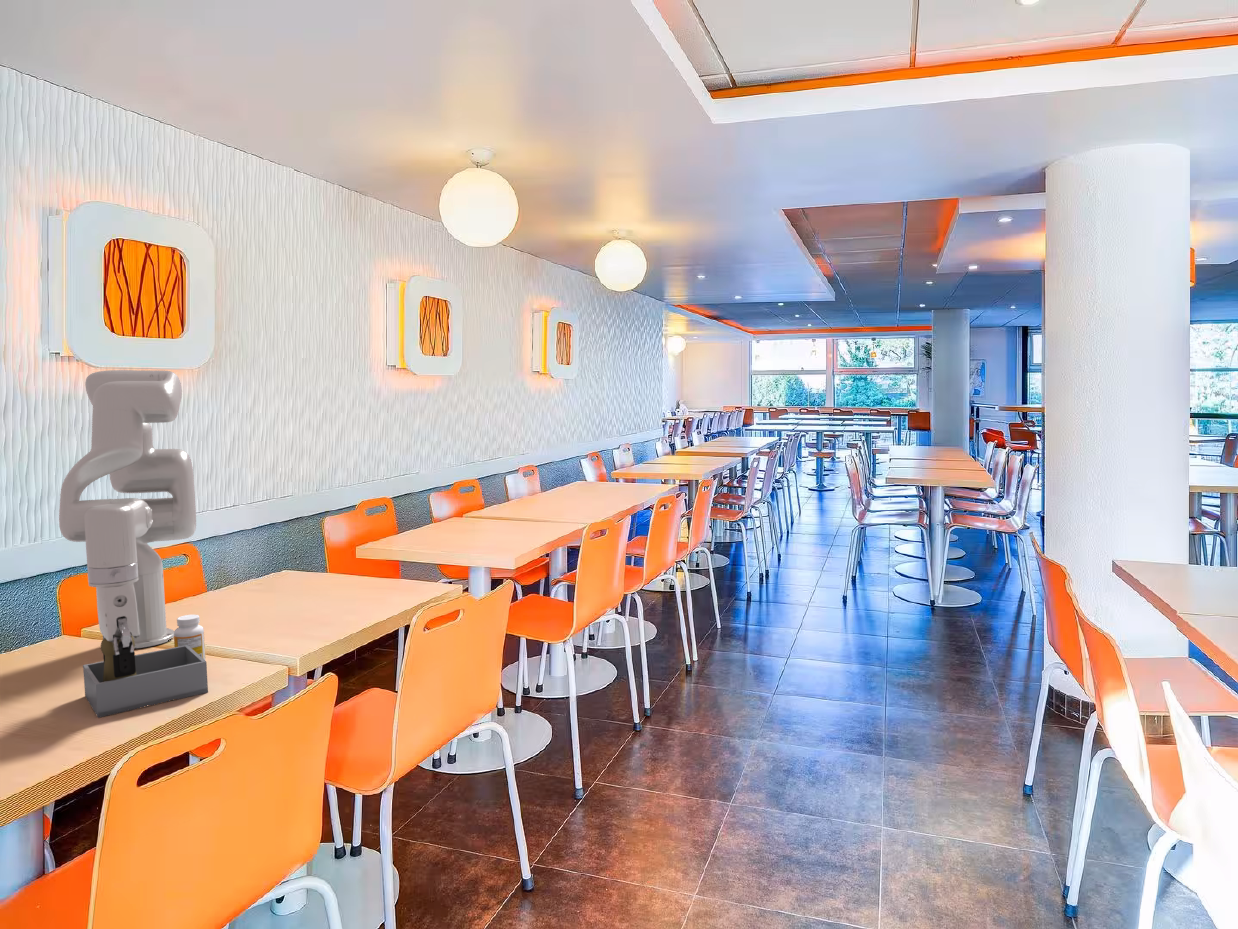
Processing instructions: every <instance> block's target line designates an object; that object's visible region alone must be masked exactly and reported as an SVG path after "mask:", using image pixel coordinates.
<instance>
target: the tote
mask: <svg viewBox="0 0 1238 929" xmlns="http://www.w3.org/2000/svg"><path fill="white" fill-rule="evenodd" d="M207 665H208V664H207V661H206V659H205V660H204V659H203V658H202V657H201V656H200V655H198V654H197V653H196V652H195V651H194V650H193V649H192V648H190V647H189V646H188V645H185V646H180V647H170V648H165V649H160V650H159V649H158V650H154V651H150V652H145V653H138V654H135V667H136V674H137V675H134V676H130V677H125V678H120V679H115V680H110V681H105V682H103V673H104V660H102V661H97V662H93V663H88V664H83V665H82V670H83V684H84V697H85V698H86V700H87V702H88V704H89V705H90V707H91V708H92V710H93V712H94V713H95V715H96V717H97V718H98V719H99V718H102V717H103V718H104V717H107V716H111V715H116V714H120V713H125V712H128V711H129V712H130V711H132V710H138V709H141V708H140V707H143V708H145V707H144V706H147V705H151V706H154V704H155V705H159V704H158V703H160V704H162V703H161V702H164V703H167V702H166V701H168V702H170V701H169V700H173V699H177V700H181V699H185V698H189V697H194V696H198V695H202V694H207V693H209V683H208V667H207ZM173 701H174V700H173ZM147 707H148V706H147ZM137 708H138V709H137Z"/></svg>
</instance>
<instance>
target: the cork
mask: <svg viewBox="0 0 1238 929" xmlns="http://www.w3.org/2000/svg"><path fill="white" fill-rule="evenodd" d="M117 637H119V636H117ZM131 637H132V635H131ZM132 642H133V647H134V646H135V641H134V638H133V637H132ZM118 644H119V642H118ZM100 650H101V654H102V655H103V654H104V655H105V662H104V673H103V682H105V681H110V680H115V679H120V678H125V677H130V676H134V675H137V674H136V673H135V674H132V675H128V676H123V677H118V678H116V677H115V676H114V667H113V655H115V653H114V647H113V642H109V641H108V640H106V638H104V639H103V638H102V640H101V643H100Z"/></svg>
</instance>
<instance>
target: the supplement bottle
mask: <svg viewBox="0 0 1238 929" xmlns="http://www.w3.org/2000/svg"><path fill="white" fill-rule="evenodd" d="M200 622H201V620H200V616H199V614H185V615H181V616H178V617H177V618H176V625H177V628H176V629H174V638H173V641H174V644H173V646H174V647H173V648H175V647H180V646H185V645H188V646H189V647H190V648H192V649H193V650H194V651H195V652H196V653H197V654H198V655H200V656H201V657H202V658H203V659H204V660H205V661H206V644H205V630H204V627H203V626H202V625H200Z"/></svg>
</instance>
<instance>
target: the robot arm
mask: <svg viewBox="0 0 1238 929" xmlns="http://www.w3.org/2000/svg"><path fill="white" fill-rule="evenodd" d="M84 384H85V385H84V386H85V392H86V394H87V398H88V400H89V401H90V403H91V405H92V416H91V418H92V420H91V421H92V422H91V423H92V424H91V442H90V443H91V445H90V446H91V447H90V448H91V449H90V451H89V452H87V453H86V454H85V455H84V456H83V457H82V458H80V459H79V460H78V461H77V462H76V463H75V464H73V466H72V467H71V468H70V470H69V471H68V473H67V475H65V477H64V479H63V482H62V484H61V488H60V494H59V496H60V497H59V510H58V512H59V513H58V522H59V524H58V525H59V526H58V527H59V529H60V533H61V535H62V536H63V538H65V539H66V541H67V540H68V542H72V543H73V542H76V543H83V542H84V543H85V552H86V566H87V568H86V569H87V582H88V587H91V588H96V589H95V590H96V592H95V593H96V608H97V618H98V627H99V631H100V634H101V635H102V640H103V639H104V638H106V640H108V641H109V642H113V647H114V653H115V655H113V667H114V676H115V677H116V678H118V677H123V676H128V675H132V674H135V673H136V667H135V655H136V653H135V651H134V650H135V649H142V648H143V649H145V648H149V647H154V646H157V645H162V644H164V643H167V642H169V641H170V640H169V639H171V638H173V637H174V631H175V629H174V630H173V629H172V628H170V627H167V616H166V613H167V612H166V599H165V598H166V597H165V582H164V581H165V580H164V566H163V565H164V564H163V561H162V558H161V556H160V555H159V554H158V552H157V551H156V550H155V549H154V548H152V547H151V546H150V545H149V543H154V542H165V541H166V542H167V541H178V540H185V539H186V540H187V539H189V538H191V537H192V536H193V535H194V534H195V532H196V529H197V509H196V506H197V505H196V495H195V494H196V492H195V478H194V468H193V462H192V460H191V457H190V455H189V454H188V453H187V452H186V451H185V450H183V449H179V448H154V444H153V443H154V442H153V428H152V425H151V424H155V423H156V424H157V423H162V424H163V423H171V422H174V421H175V420H176V418H177V417H178V415H179V411H180V405H181V402H182V397H183V396H182V395H183V394H182V392H183V390H182V383H181V379H180V378H179V376H178V374H176V373H175V372H173V371H172V370H171V371H170V370H146V369H145V370H139V369H137V370H134V369H112V370H111V369H109V370H100V371H95V372H91V373H90V374H89V375H87V377H86V378H85V382H84ZM108 475H109V480H110V483H111V484H110V485H111V487H112V488H113V490H114V491H116V492H118V493H122V494H146V493H147V494H151V493H168V494H170V495H171V496H172V497H160V498H135V497H130V498H129V497H128V498H127V497H126V498H102V499H100V498H99V499H85V500H81V496H82V493H83V492H84V490H85V489H86V488H87V487H88V486H89V485H91V484H92V483H94V482H95V481H97V480H99V479H100V478H103V477H105V476H108ZM131 635H132V637H133V638H134V641H135V646H134V647H133V642H132V637H131ZM117 636H119V637H117ZM173 639H174V638H173ZM168 640H169V641H168ZM171 640H172V639H171ZM118 642H119V644H118ZM102 658H103V661H104V662H105V655H104V654H103V653H102Z"/></svg>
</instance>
